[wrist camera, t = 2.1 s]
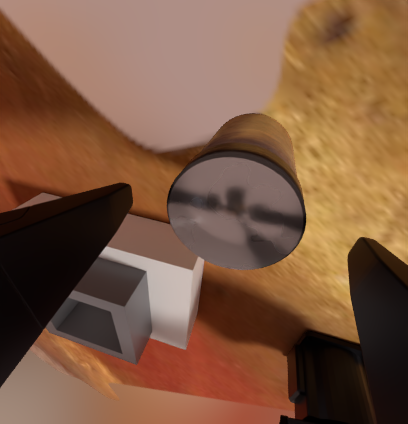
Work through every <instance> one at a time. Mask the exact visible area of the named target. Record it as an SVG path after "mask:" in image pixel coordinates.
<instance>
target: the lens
mask: <svg viewBox="0 0 408 424" xmlns="http://www.w3.org/2000/svg"><path fill="white" fill-rule="evenodd" d="M167 213H168V217H169V221H170V224H171V226H172V228H173V230H174V232H175V234H176V235H177V237H178V238H179V239H180V241H181V242H182V243H183V244H184V245H185V246H186V247H187V248H188V249H189V250H190V251H192V252H193V253H194V254H195V255H197V256H199V257H200V258H202V259H204V260H205V261H207V262H210V263H212V264H214V265H218V266H221V267H225V268H229V269H237V270H250V269H258V268H263V267H266V266H270V265H272V264H275V263H277V262H279V261H281V260H282V259H284V258H285V257H287V256H288V255H289V254H290V253H291V252H292V251H293V250H294V249H295V248H296V247H297V245H298V244H299V242H300V240H301V239H302V236H303V234H304V231H305V226H306V211H305V205H304V199H303V193H302V188H301V185H300V182H299V180H298V178H297V172H296V166H295V159H294V152H293V146H292V141H291V138H290V136H289V134H288V132H287V131H286V130H285V128H284V127H283V126H282V125H281V124H280V123H279V122H277V121H276V120H274V119H273V118H271V117H268V116H266V115H262V114H255V113H251V114H244V115H240V116H237V117H234V118H232V119H231V120H229V121H228V122H226V123H225V124H224V125H223V126H222V127H221V128H220V129H219V130H218V132H217V133H216V134H215V135H214V136H213V138H212V139H211V140H210V141H209V143H208V144H207V145H206V146H205V148H204V149H203V150H202V151H201V152H200V153H199V154H198V155H196V156H195V157H194V158H193V159H192V160H191V161H190V162H189V163H188V164H187V166H186V167H185V168H184V169H183V170H182V171H181V173H180V174H179V175H178V176H177V177H176V179H175V180H174V182H173V184H172V185H171V188H170V190H169V194H168V198H167Z"/></svg>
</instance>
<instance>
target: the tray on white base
mask: <svg viewBox="0 0 408 424" xmlns="http://www.w3.org/2000/svg"><path fill="white" fill-rule="evenodd" d="M59 198H62V197H59V196H55V195H51V194H47V193H41V194H39V195H37V196H36V197H34V198H32V199H30V200H29V201H27V202H25V203H24V204H22V205H20V206H18V207H17V208H15V209H20V208H23V207H27V206H32V205H35V204H39V203H43V202H47V201H51V200H55V199H59ZM15 209H13V210H15ZM203 266H204V259H202V258H200V257H199V256H197V255H195V254H194V253H193V252H192V251H190V250H189V249H188V248H187V247H186V246H185V245H184V244H183V243H182V242H181V241H180V239H179V238H178V237H177V235H176V234H175V232H174V230H173V228H172V226H171V224H167V223H163V222H159V221H155V220H151V219H147V218H143V217H139V216H135V215H131V214H127V215H126V217H125V219H124V221H123V222H122V224H121V226H120V227H119V229H118V231H117V232H116V234H115V235H114V237H113V238H112V239H111V241H110V242H109V243H108V245H107V246H106V247H105V249H104V250H103V251H102V253H101V254H100V255H99V257H98V258H97V259H96V261H95V262H94V263H93V265H92V266H91V267H90V269H89V270H88V271H87V273H86V274H85V275H84V277H83V278H82V279H81V281H80V282H79V283H78V285H77V286H76V287H75V289H74V290H73V291H72V293H71V294H70V295H69V297H68V298H67V299H66V301H65V302H64V303H63V305H62V306H61V307H60V309H59V310H58V311H57V313H56V314H55V315H54V317H53V318H52V319H51V321H50V322H49V323H48V325H47V326H46V328H47V330H48V331H49V333H52V334H55V335H57V336H60V337H63V338H66V339H68V340H71V341H74V342H76V343H79V344H82V345H85V346H87V347H90V348H93V349H95V350H98V351H101V352H103V353H106V354H109V355H112V356H114V357H117V358H120V359H122V360H125V361H128V362H131V363H133V364H136V365H137V364H138V361H139V359H140V357H141V355H142V353H143V351H144V348H145V346H146V344H147V342H148V340H149V338H152V339H155V340H158V341H161V342H164V343H167V344H170V345H173V346H176V347H179V348H181V349H184V350H186V348H187V344H188V341H189V338H190V335H191V332H192V329H193V326H194V322H195V319H196V316H197V313H198V305H199V297H200V290H201V282H202V274H203Z"/></svg>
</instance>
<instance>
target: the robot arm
mask: <svg viewBox="0 0 408 424" xmlns="http://www.w3.org/2000/svg"><path fill="white" fill-rule="evenodd" d="M132 204H133V197H132V188H131V186H130V185H129V184H126V183H117V184H113V185H109V186H105V187H101V188H97V189H93V190H90V191H86V192H82V193H78V194H74V195H70V196H66V197H62V198H59V199H55V200H51V201H47V202H43V203H39V204H35V205H32V206H27V207H23V208H20V209H15V210H11V211H7V212H3V213H0V387H1V386H2V385H3V383H4V382H5V381H6V379H7V378H8V377H9V375H10V374H11V372H12V371H13V370H14V369H15V367H16V366H17V365H18V363H19V362H20V361H21V359H22V358H23V357H24V355H25V354H26V352H27V351H28V350H29V349H30V347H31V346H32V345H33V343H34V342H35V341H36V339H37V338H38V337H39V335H40V334H41V333H42V331H43V330H44V329H45V327H46V326H47V325H48V323H49V322H50V321H51V319H52V318H53V317H54V315H55V314H56V313H57V311H58V310H59V309H60V307H61V306H62V305H63V303H64V302H65V301H66V299H67V298H68V297H69V295H70V294H71V293H72V291H73V290H74V289H75V287H76V286H77V285H78V283H79V282H80V281H81V279H82V278H83V277H84V275H85V274H86V273H87V271H88V270H89V269H90V267H91V266H92V265H93V263H94V262H95V261H96V259H97V258H98V257H99V255H100V254H101V253H102V251H103V250H104V249H105V247H106V246H107V245H108V243H109V242H110V241H111V239H112V238H113V237H114V235H115V234H116V232H117V231H118V229H119V227H120V226H121V224H122V222H123V221H124V219H125V217H126V215H127V214H128V212H129V210H130V209H131V207H132ZM348 272H349V285H350V295H351V301H352V306H353V311H354V316H355V321H356V326H357V330H358V335H359V340H360V345H361V347H360V346H357V345H354V344H350V343H347V342H344V341H340V340H337V339H334V338H330V337H327V336H324V335H320V334H317V333H314V332H305V333H304V334H303V336H302V337H301V339H300V340H299V341H298V343H297V344H296V345H294V347H293V348H292V350H291V351H290V352H289V354H288V356H287V362H288V394H289V400H290V402H292V403H295V419H294V418H288V416H284V415H281V417H280V423H279V424H408V265H407V264H405V263H404V262H403V261H401V260H400V259H399V258H398V257H396V256H395V255H394V254H392V253H391V252H390V251H388V250H387V249H386V248H385V247H383V246H382V245H381V244H379V243H378V242H377V241H375V240H374V239H370V238H365V237H360V238H359V239H358V240H357V241H356V243H355V244H354V246H353V247H352V249H351V250H350V252H349V254H348Z"/></svg>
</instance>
